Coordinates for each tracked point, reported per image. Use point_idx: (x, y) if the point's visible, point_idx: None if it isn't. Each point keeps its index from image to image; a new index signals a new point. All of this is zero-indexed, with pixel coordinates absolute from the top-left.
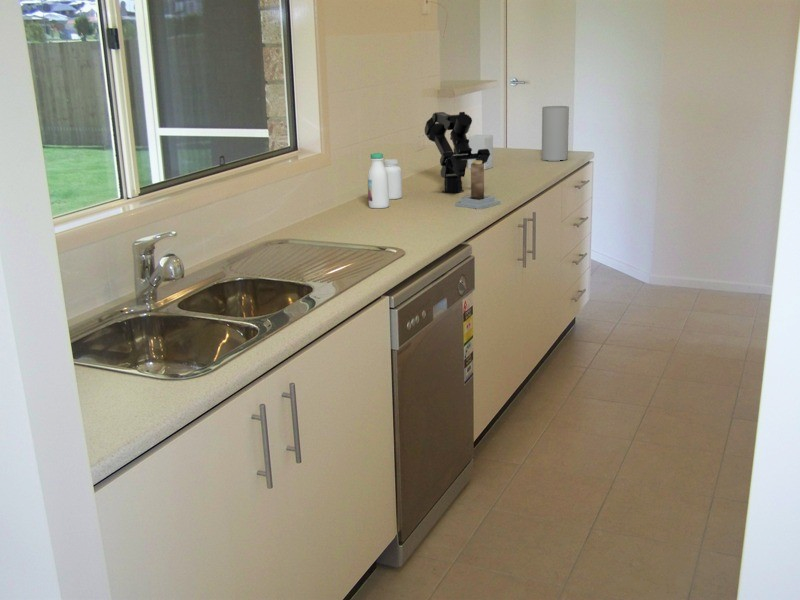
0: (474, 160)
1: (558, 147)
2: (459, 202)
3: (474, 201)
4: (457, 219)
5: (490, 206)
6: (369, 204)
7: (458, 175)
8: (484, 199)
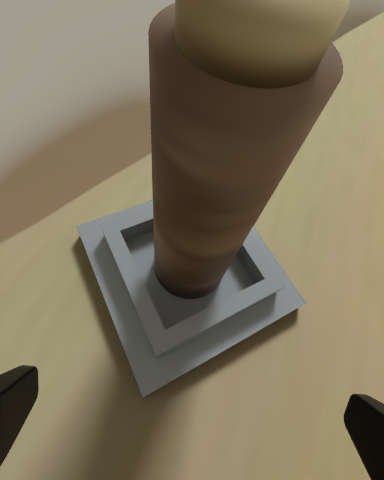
0: (302, 12)
1: None
2: (283, 295)
3: None
4: (335, 116)
5: None
6: None
7: (366, 400)
8: None
